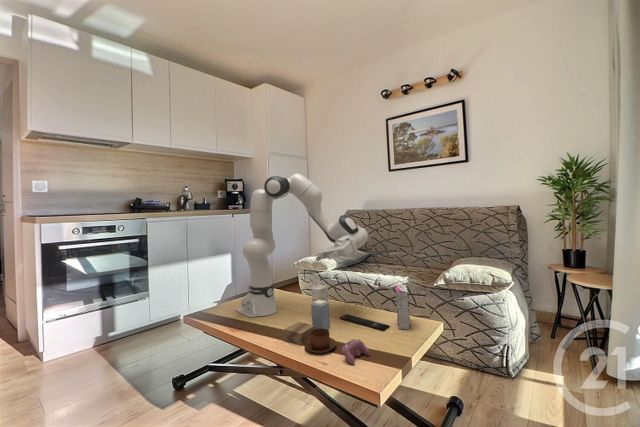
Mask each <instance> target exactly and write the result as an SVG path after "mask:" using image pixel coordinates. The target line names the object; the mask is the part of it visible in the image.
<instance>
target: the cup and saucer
mask: <svg viewBox="0 0 640 427" xmlns="http://www.w3.org/2000/svg"><path fill="white" fill-rule="evenodd" d="M336 344H337V341H336V340H335V339H334V338H332V337H330V330H329V329H322V328H319V329H314V330H312V331H311V332H310V337H309V338H307V339H306V341H305V344H304V348H305V349H306V350H308V351H309V352H311V353H315V354H316V353H317V354H322V353H324V354H325V353H329V352H330V351H332V350H333V349H334V348H336Z"/></svg>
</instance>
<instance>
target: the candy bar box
mask: <svg viewBox="0 0 640 427" xmlns="http://www.w3.org/2000/svg"><path fill="white" fill-rule="evenodd" d="M395 298H396V315H397V316H396V317H397V319H396V320H397V326H398V329H399V330H402V329H410V330H411V320H410V317H411V316H410V303H409V290H408V286H407V284H395Z"/></svg>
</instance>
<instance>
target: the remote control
mask: <svg viewBox="0 0 640 427" xmlns="http://www.w3.org/2000/svg"><path fill="white" fill-rule="evenodd" d="M339 319H340V320H343V321H346V322H349V323H353V324H357V325H360V326H364V327H366V328H372V329H375V330H378V331H381V332H385V331H386V329H387V330H388V329H390V328H391V325H389V324H387V323H383V322H378V321H374V320H372V319H367V318H362V317H358V316H356V315H351V314H348V313H347V314H346V313H345V314H343V315H341V316H340V317H339ZM389 327H390V328H389Z"/></svg>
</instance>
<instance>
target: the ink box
mask: <svg viewBox="0 0 640 427" xmlns="http://www.w3.org/2000/svg"><path fill="white" fill-rule="evenodd" d="M328 287H329V285H324V284H321V279H317V280H315V281H312V282H311V300H312V301H311V304H313V302H315V301H317V300H324V301H327V303H329V289H328Z"/></svg>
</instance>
